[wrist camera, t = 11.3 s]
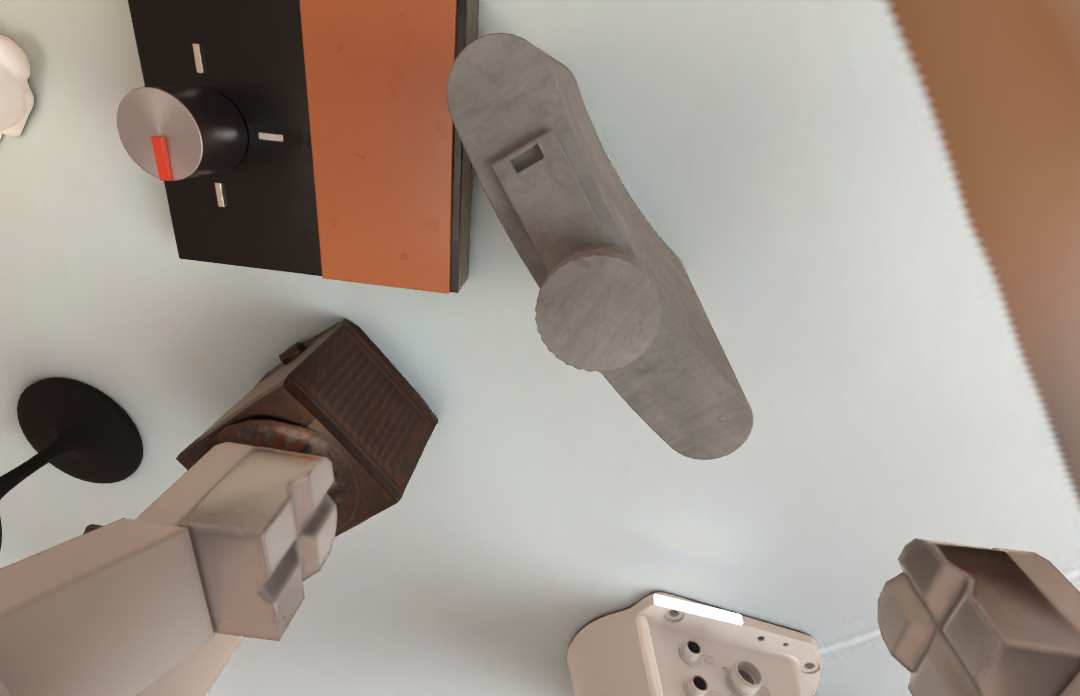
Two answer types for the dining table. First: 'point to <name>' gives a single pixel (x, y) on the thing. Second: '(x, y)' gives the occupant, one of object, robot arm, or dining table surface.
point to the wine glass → (75, 434)
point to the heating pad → (382, 138)
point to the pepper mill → (333, 420)
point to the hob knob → (181, 131)
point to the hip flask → (592, 248)
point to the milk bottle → (196, 669)
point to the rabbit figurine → (14, 88)
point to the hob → (262, 132)
